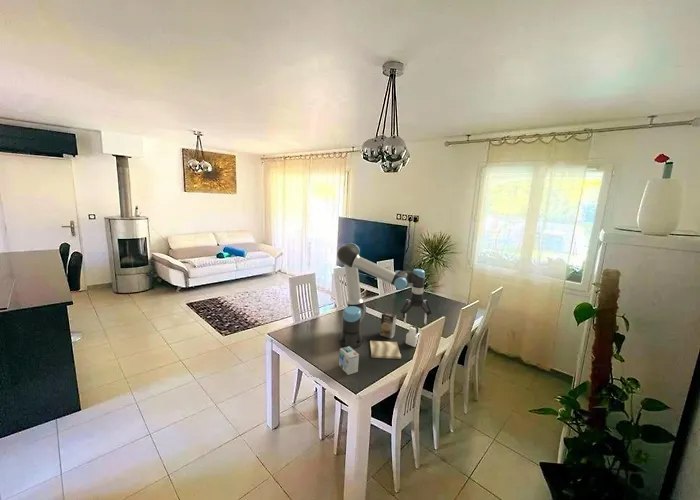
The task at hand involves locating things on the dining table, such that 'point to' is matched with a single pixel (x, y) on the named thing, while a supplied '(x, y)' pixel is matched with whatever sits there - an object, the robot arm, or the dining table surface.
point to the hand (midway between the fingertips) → (414, 323)
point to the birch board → (384, 349)
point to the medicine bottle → (412, 336)
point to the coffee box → (388, 324)
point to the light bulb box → (348, 360)
